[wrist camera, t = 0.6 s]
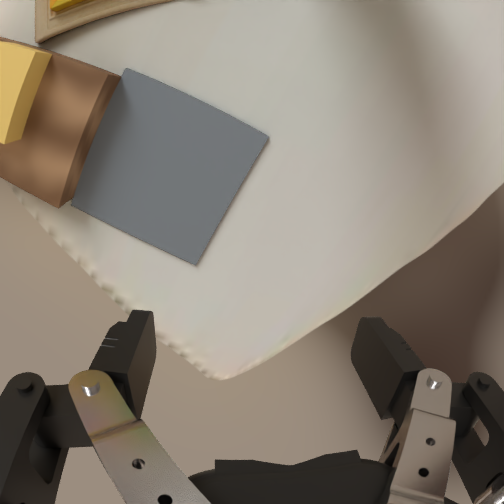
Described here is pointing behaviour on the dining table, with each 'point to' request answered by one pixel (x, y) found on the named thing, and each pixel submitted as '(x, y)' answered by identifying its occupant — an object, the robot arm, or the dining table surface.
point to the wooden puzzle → (78, 13)
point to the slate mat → (165, 165)
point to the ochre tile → (18, 86)
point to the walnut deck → (58, 128)
